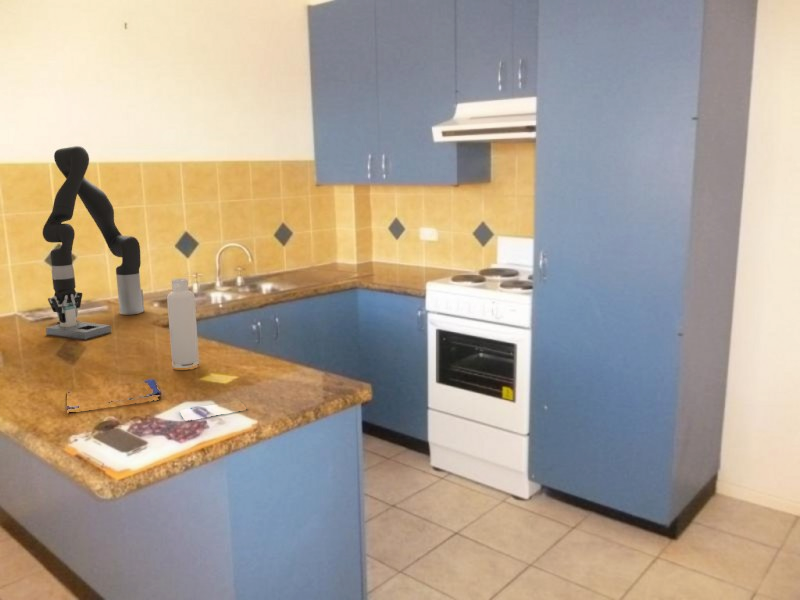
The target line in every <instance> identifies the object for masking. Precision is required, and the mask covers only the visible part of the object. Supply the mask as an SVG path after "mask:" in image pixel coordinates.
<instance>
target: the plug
mask: <svg viewBox="0 0 800 600" xmlns="http://www.w3.org/2000/svg"><path fill="white" fill-rule="evenodd" d="M64 313H65V319H66V322H65V323H61V322H60V321H59V324H60V327H72V326H75V325H77V319H76V312H75V306H72V305H66V307H65V312H64Z"/></svg>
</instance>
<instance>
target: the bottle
mask: <svg viewBox="0 0 800 600" xmlns="http://www.w3.org/2000/svg"><path fill="white" fill-rule="evenodd" d="M195 298H196V297H195V294H194V292H193V291H191V290H189V280H188V278H183V277H181V278H173V279H171V291H170V292H169V293H168V294H167V297H166V302H167V315H168V316H167V317H168V327H169V328H168V329H169V340H170V342H169V343H170V350H171V351H170V352H171V361H172V363H171V367H172V366H173V367H174V368H188V367H192V366H195V365H197V364H199V365H200V360H199V358H200V357H199V355H200V354H199V342H198V328H197V314H196V313H197V312H196V299H195ZM192 363H193V364H192ZM174 364H175V365H174Z"/></svg>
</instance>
